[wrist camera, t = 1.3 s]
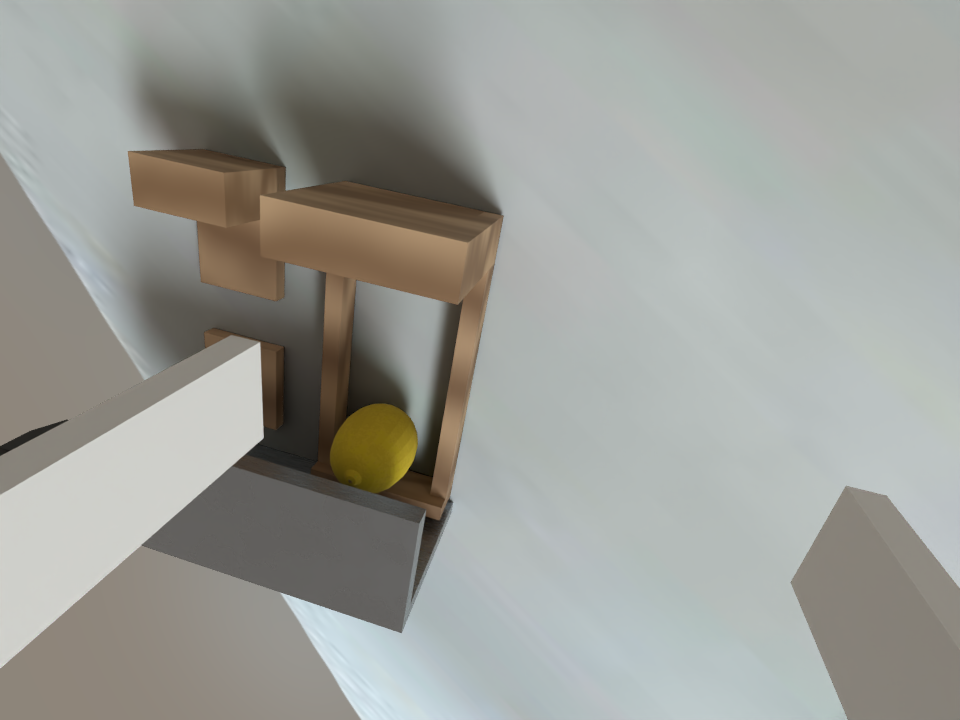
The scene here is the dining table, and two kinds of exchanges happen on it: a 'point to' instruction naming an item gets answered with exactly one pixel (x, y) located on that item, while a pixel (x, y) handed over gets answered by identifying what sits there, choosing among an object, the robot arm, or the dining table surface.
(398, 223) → the wooden frame
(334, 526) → the shelf
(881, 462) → the dining table surface
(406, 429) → the lemon
